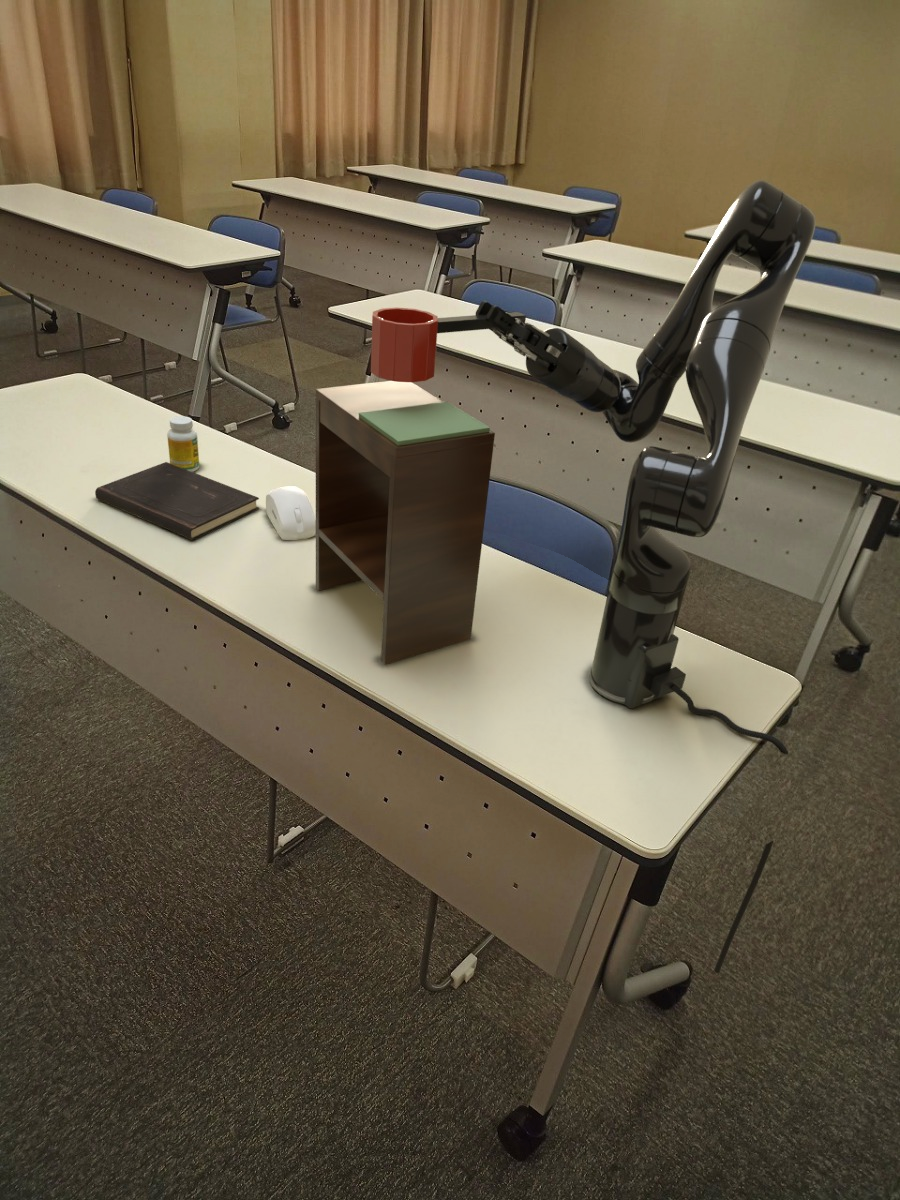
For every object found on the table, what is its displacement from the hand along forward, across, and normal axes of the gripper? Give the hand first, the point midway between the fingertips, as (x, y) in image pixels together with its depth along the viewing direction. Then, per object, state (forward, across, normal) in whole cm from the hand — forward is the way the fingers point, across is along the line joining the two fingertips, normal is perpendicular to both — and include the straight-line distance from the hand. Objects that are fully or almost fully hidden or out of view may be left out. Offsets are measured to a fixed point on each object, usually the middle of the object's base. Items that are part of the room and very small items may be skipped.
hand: (485, 310), depth 110 cm
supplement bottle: (-1, -60, +49) cm, 77 cm away
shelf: (-10, +1, +43) cm, 44 cm away
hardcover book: (+5, -44, +52) cm, 68 cm away
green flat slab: (+5, +7, +16) cm, 18 cm away
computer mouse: (-8, -31, +44) cm, 55 cm away
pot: (+1, 0, +8) cm, 9 cm away
